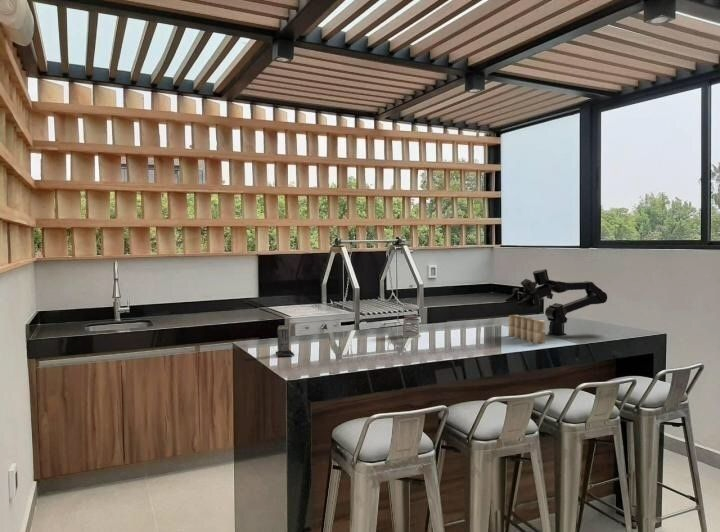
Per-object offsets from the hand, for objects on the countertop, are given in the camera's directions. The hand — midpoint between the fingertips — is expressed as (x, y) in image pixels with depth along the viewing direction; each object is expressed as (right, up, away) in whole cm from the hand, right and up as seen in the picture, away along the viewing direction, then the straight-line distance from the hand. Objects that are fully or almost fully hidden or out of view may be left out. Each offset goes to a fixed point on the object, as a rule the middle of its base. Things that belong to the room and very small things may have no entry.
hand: (510, 303), depth 265 cm
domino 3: (+6, -17, -5) cm, 18 cm away
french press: (-48, -16, +4) cm, 51 cm away
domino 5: (+9, -17, -14) cm, 24 cm away
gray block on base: (-103, -19, -40) cm, 112 cm away
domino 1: (+3, -16, +4) cm, 17 cm away
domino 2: (+4, -16, -1) cm, 17 cm away
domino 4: (+7, -17, -10) cm, 21 cm away
